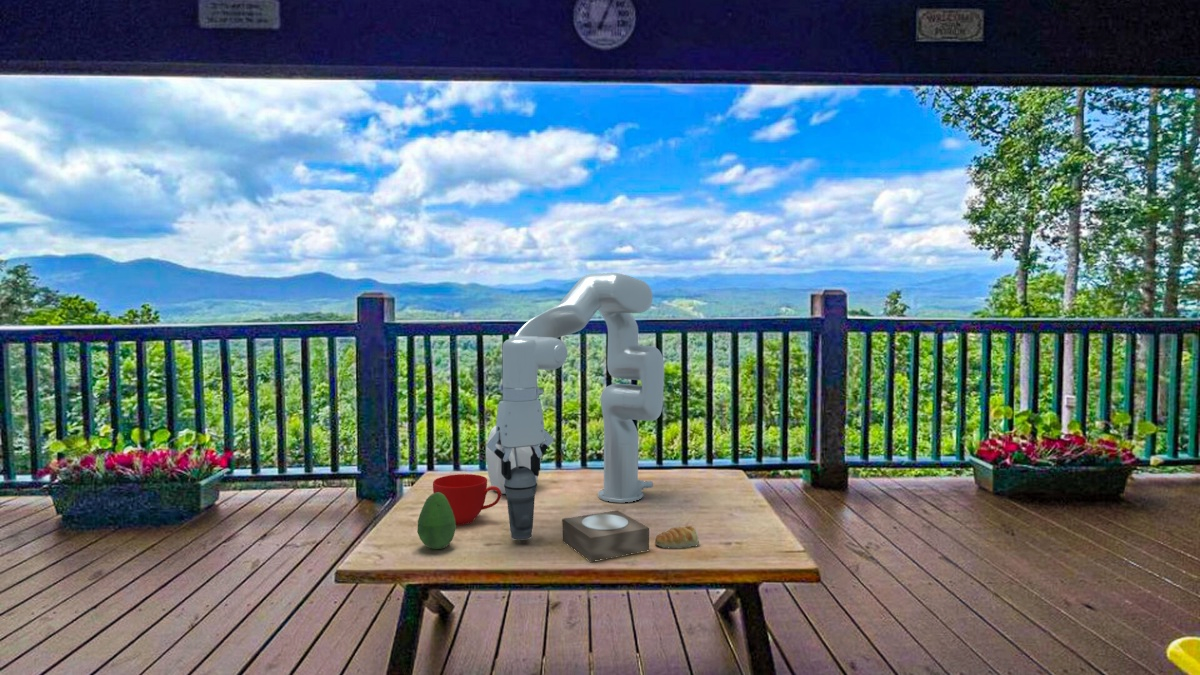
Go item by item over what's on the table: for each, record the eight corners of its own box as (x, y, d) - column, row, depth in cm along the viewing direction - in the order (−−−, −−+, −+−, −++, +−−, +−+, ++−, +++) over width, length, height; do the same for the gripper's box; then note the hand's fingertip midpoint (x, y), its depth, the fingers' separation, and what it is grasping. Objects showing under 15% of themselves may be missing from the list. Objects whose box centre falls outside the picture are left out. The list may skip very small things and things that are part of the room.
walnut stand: (617, 531, 146) (617, 508, 146) (649, 551, 134) (649, 526, 134) (562, 541, 140) (562, 516, 140) (590, 562, 128) (590, 536, 127)
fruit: (444, 539, 141) (443, 486, 140) (462, 548, 135) (462, 493, 135) (411, 547, 135) (410, 492, 135) (428, 558, 130) (428, 500, 129)
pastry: (663, 553, 134) (663, 535, 134) (649, 543, 140) (649, 525, 140) (701, 547, 137) (701, 530, 137) (686, 537, 144) (686, 521, 143)
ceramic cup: (491, 532, 146) (491, 489, 145) (423, 527, 149) (423, 485, 148) (509, 515, 158) (509, 476, 158) (446, 511, 161) (446, 472, 161)
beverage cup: (532, 543, 135) (530, 450, 134) (500, 541, 136) (498, 449, 135) (542, 531, 142) (540, 443, 141) (511, 529, 143) (509, 442, 143)
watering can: (471, 503, 169) (471, 433, 168) (500, 479, 195) (500, 418, 195) (527, 506, 167) (527, 435, 166) (549, 481, 193) (549, 419, 193)
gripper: (549, 390, 145) (550, 468, 146) (477, 395, 137) (477, 477, 138) (563, 394, 139) (563, 475, 139) (487, 399, 131) (488, 485, 131)
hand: (521, 475), depth 139 cm, fingers closed on beverage cup, 5 cm apart
